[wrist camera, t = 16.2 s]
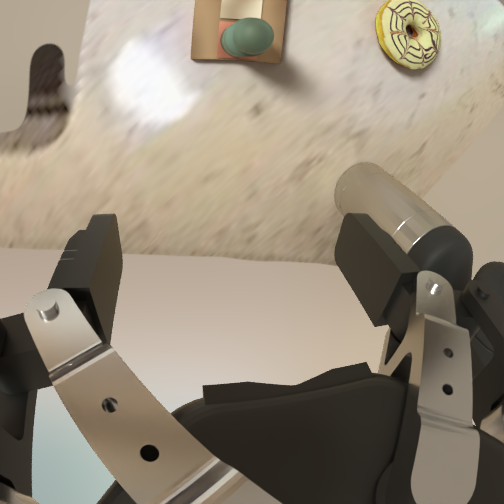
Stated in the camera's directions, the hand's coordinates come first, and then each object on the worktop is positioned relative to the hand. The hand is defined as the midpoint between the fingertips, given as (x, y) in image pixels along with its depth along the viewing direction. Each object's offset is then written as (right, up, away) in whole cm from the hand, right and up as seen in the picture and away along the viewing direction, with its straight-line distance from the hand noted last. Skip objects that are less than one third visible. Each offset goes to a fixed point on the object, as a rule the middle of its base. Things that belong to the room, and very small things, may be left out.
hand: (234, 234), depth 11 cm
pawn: (-1, +22, +17) cm, 28 cm away
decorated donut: (+21, +29, +20) cm, 41 cm away
